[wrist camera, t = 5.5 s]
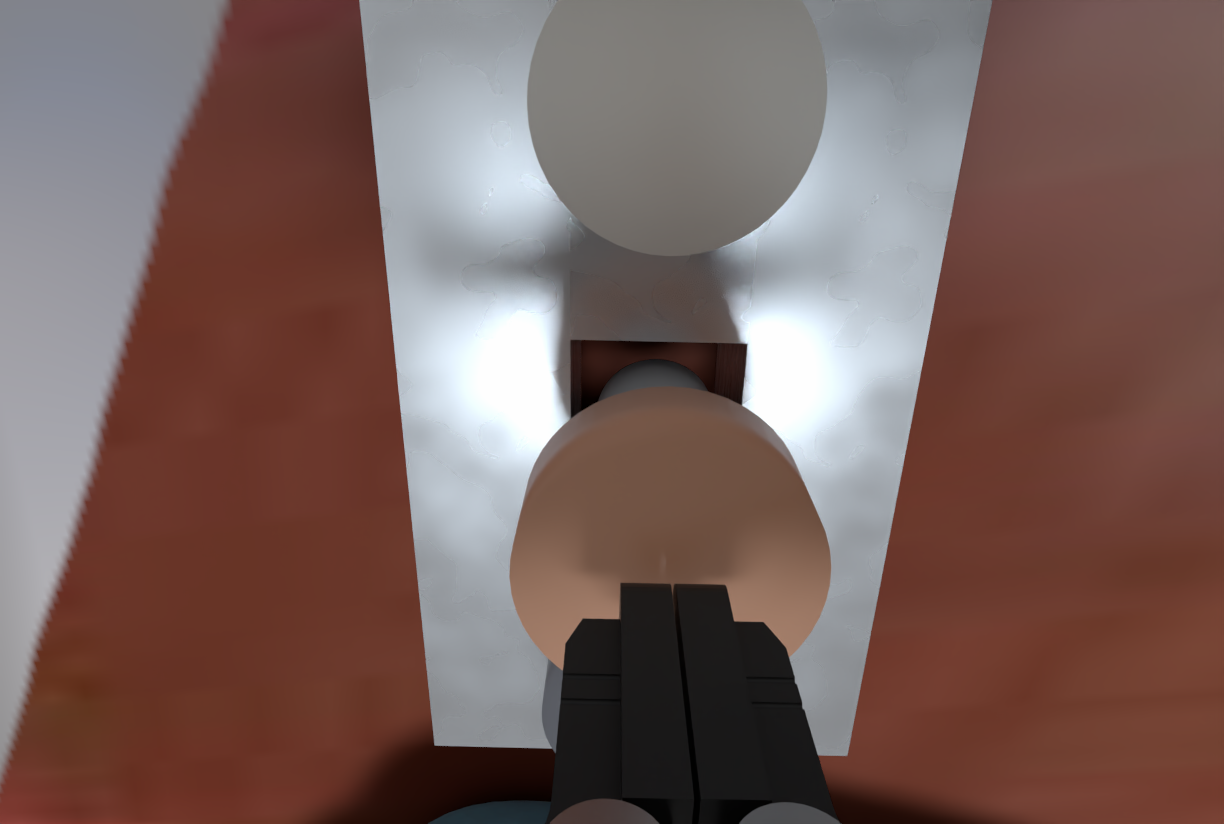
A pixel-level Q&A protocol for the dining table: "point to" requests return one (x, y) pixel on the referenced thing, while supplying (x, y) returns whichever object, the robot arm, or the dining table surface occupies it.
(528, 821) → the casserole dish
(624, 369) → the tan egg
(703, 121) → the grey oval piece
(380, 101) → the mount
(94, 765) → the dining table surface
